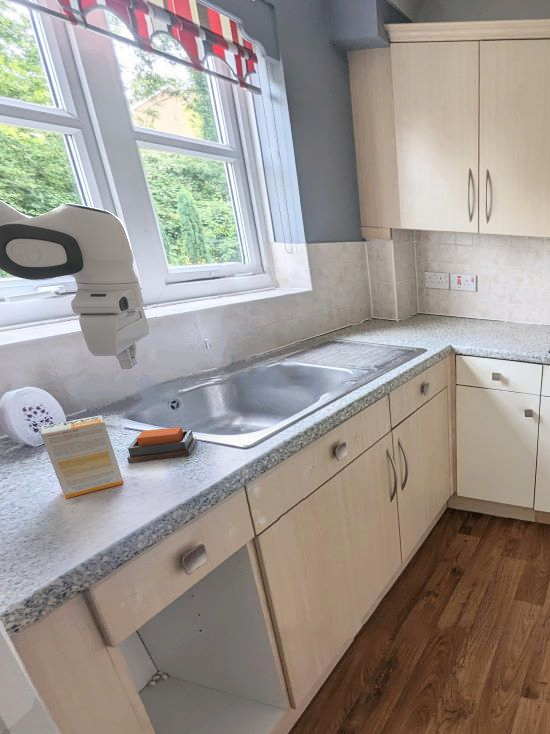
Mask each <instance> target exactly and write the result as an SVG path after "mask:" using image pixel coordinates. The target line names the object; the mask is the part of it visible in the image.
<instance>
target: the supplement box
mask: <svg viewBox="0 0 550 734" xmlns="http://www.w3.org/2000/svg"><path fill="white" fill-rule="evenodd" d="M108 431H109V430H108V428H107V425H106V422H105V420H104V418H103V415H102V414H99V415H94V416H90V417H83V418H78V419H73V420H67V421H61V422H56V423H50V424H45V425H41V426H40V436H41V439H42V441H43V443H44V446H45V449H46V452H47V455H48V456H49V460H50V462H51V465H52V467H53V470H54V472H55V476H56V478H57V481H58V484H59V486H60V489H61V491H62V493H63V496H64V498H65V499H69V498H70V499H71V498H73V497H77V496H81V495H85V494H88V493H93V492H97V491H100V490H104V489H109V488H111V487H116V486H119V485H123V484H124V480H123V476H122V473H121V470H120V466H119V463H118V459H117V457H116V454H115V451H114V448H113V444H112V441H111V438H110V434H109V432H108Z"/></svg>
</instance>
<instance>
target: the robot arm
mask: <svg viewBox="0 0 550 734" xmlns="http://www.w3.org/2000/svg"><path fill="white" fill-rule="evenodd" d="M125 227H126V226H124V223H123V222H122V220H121V219H120V217H118V216H117V215H116V214H114V213H112V212H110V211H109V210H106V209H101V208H98V207H94V206H93V207H92V206H88V205H83V204H77V203H71V202H66V203H62V204H60V205H59V206H58V207H56V208H54V209H51V210H50V211H48V212H45V213H42V214H40V215H39V214H38V215H36V216H31V215H28V214H26V213H24V212H22V211H21V210H18V209H16V208H15V207H14V206H11V205H10V204H8V203H7V202H5V201H4V200H2V199H1V198H0V270H1V271H3V272H5V273H7V274H8V275H11V276H13V277H15V278H18V279H19V278H20V279H23V280H29V281H48V280H52V279H55V278H61V277H66V276H70V277H73V278H74V280H75V284H76V287H77V288H76V293H75V296H74V297H73V299H72V300H71V302H70V306H71V310H72V312H73V314H79V316H78V323H79V327H80V330H81V333H82V336H83V338H84V341H85V344H86V347H87V350H88V351H89V353H90V354H91V355H92V356H93V357H113V356H115V358H116V359H117V361H118V363H119V367H120V369H122V370H130V369H132V368H134V367H135V366H136V365H137V364H138V362H137V358H136V354H137V344H136V343H138V342H139V341H140V340H142V339H144V337H145V338H146V337H147V336H148V335H149V334H150V333H149V332H150V328H149V323H148V320H147V316H146V313H145V309H144V305H145V302H144V299H143V298H144V297H143V295H142V294H143V293H142V289H141V285H140V280H139V278H138V276H137V275H136V273H135V270H134V254H133V253H134V252H133V249H132V246H131V241H130V239H129V236H128V233H127V230H126V228H125Z"/></svg>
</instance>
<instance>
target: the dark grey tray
mask: <svg viewBox="0 0 550 734" xmlns="http://www.w3.org/2000/svg"><path fill="white" fill-rule="evenodd" d="M182 431H183V435H184V439H183V440H182V441H179V442H170V443H162V444H153V445H144V446H139V445H138V442H137V437H136V438H135V439H134V440H133V441H132V442H131V444H130V445H129V446H128V447H127V450H128V456H127V463H128V464H133V463H141V462H148V461H159V460H164V459H165V460H166V459H173V458H181V457H189V456H191V453H192V452H193V450H194V448H195V446H196V444H197V442H198V441H197V440H198V439H197V437H196V436H194V434H193V430H192V429H187V430H182Z"/></svg>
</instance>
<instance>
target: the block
mask: <svg viewBox="0 0 550 734" xmlns="http://www.w3.org/2000/svg"><path fill="white" fill-rule="evenodd" d="M183 431H184V430H183V427H182V426H177V427H176V426H175V427H168V428H158V429H157V428H155V429H148V430H147V429H146V430H142V431H141V432H140V433H139V435H137V437H136V438H137V442H138V445H139V446H144V445H153V444H162V443H170V442H179V441H182V440H183V439H184V435H183Z"/></svg>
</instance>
